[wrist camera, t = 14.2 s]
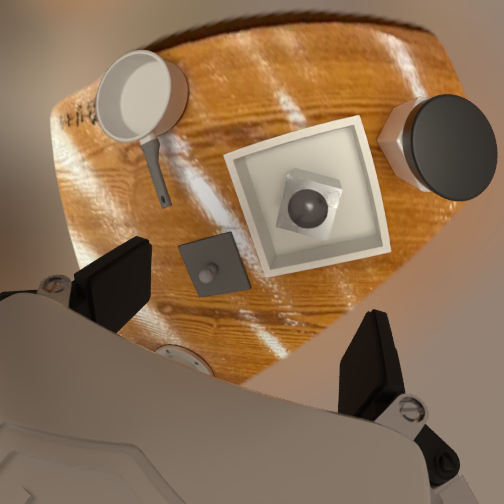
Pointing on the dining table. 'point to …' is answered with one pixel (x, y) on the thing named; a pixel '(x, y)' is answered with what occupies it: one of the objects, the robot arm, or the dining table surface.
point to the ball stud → (215, 265)
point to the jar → (441, 146)
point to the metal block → (309, 204)
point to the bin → (324, 163)
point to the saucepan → (142, 105)
